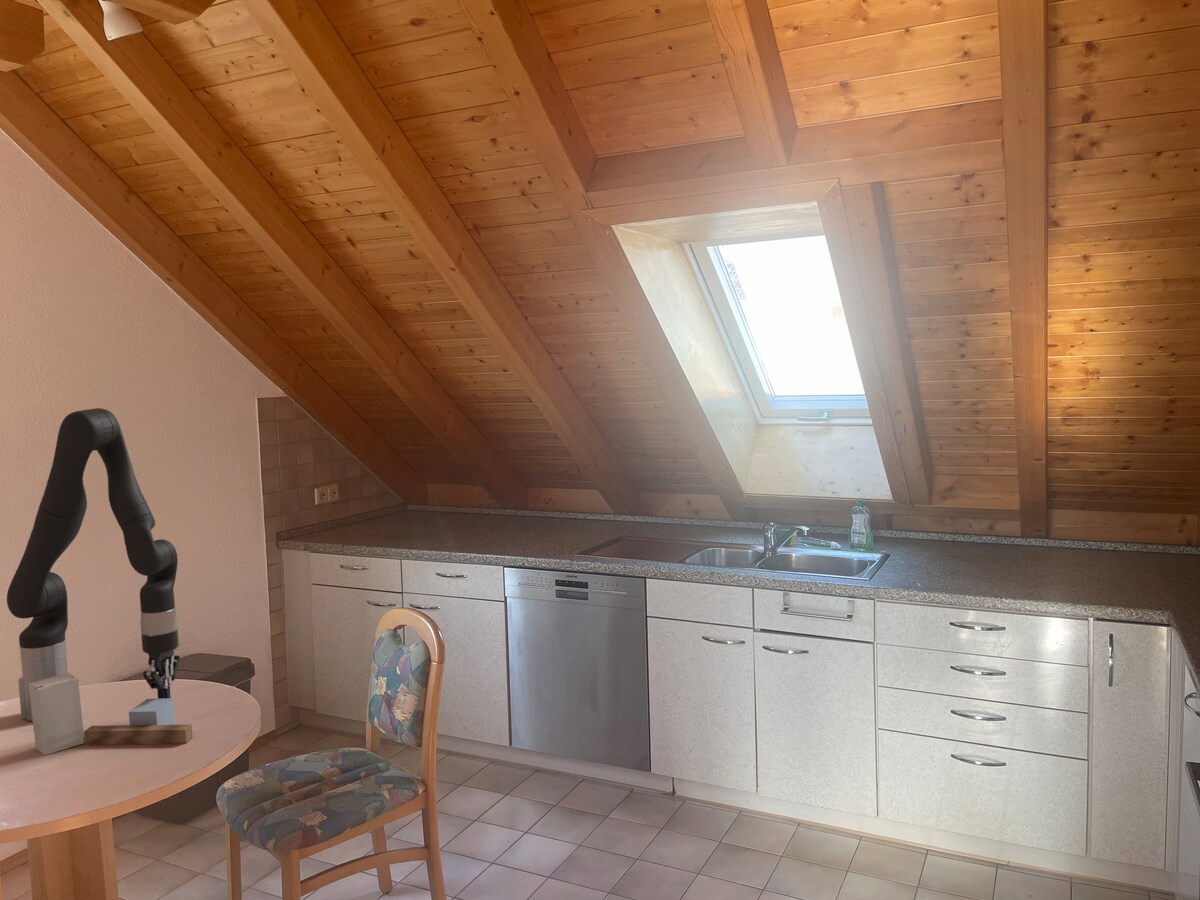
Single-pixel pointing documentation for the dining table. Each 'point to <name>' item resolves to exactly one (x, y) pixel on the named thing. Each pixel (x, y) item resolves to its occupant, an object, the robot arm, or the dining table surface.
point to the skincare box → (56, 713)
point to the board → (138, 734)
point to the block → (153, 712)
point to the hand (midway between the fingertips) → (164, 703)
